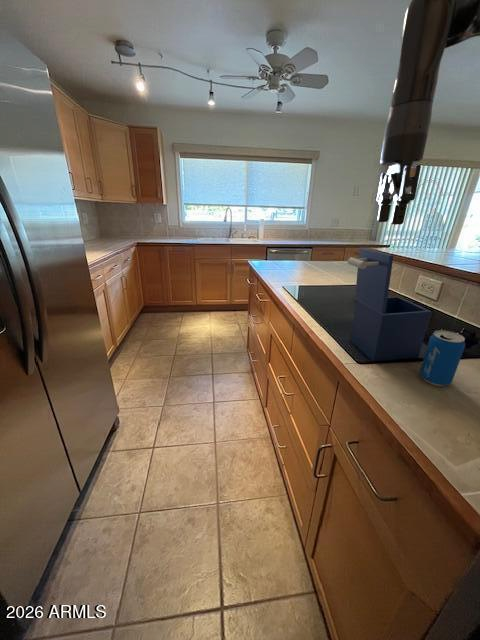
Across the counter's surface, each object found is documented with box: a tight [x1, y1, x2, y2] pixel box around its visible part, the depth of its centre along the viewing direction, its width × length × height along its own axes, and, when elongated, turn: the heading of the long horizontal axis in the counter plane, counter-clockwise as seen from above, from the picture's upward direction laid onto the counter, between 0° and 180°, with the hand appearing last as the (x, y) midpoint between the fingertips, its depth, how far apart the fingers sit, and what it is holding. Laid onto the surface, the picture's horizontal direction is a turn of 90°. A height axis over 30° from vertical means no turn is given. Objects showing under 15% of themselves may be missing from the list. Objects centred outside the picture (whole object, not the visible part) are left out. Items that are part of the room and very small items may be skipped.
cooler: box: [349, 295, 433, 363], centre depth 75 cm, size 14×13×14 cm
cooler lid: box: [347, 247, 394, 313], centre depth 68 cm, size 14×13×6 cm
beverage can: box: [419, 329, 466, 387], centre depth 61 cm, size 6×6×12 cm
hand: (389, 223), depth 58 cm, fingers open, 8 cm apart
